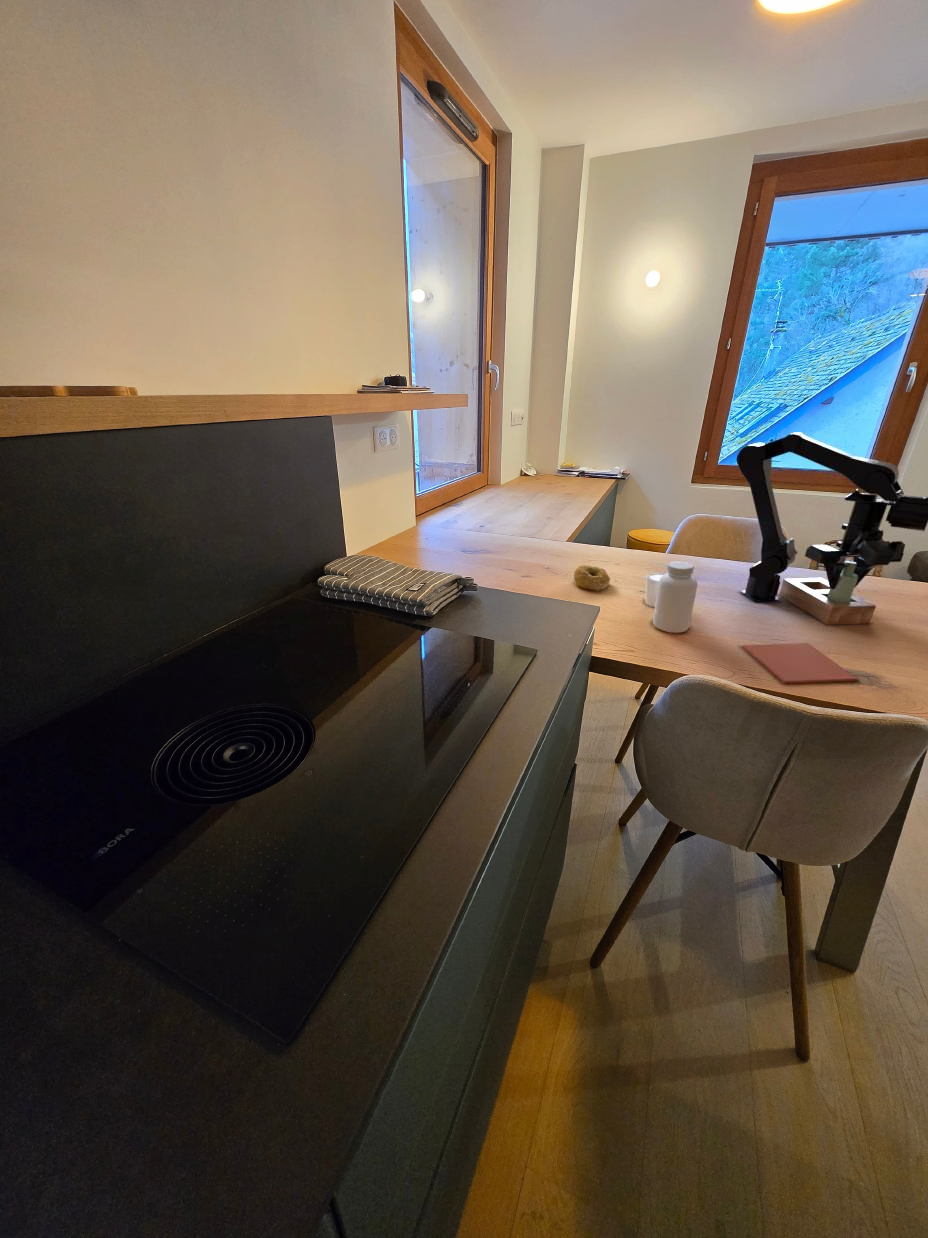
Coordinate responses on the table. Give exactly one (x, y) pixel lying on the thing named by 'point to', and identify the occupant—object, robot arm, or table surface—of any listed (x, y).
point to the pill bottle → (675, 598)
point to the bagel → (591, 577)
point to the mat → (798, 663)
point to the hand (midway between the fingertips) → (841, 588)
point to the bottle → (844, 584)
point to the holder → (825, 602)
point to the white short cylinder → (652, 588)
